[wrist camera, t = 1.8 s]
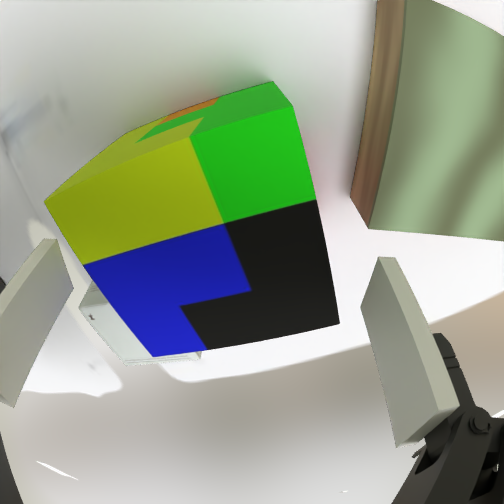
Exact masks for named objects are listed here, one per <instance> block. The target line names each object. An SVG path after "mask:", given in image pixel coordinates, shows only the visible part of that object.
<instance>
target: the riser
mask: <svg viewBox="0 0 504 504" xmlns="http://www.w3.org/2000/svg"><path fill="white" fill-rule="evenodd" d="M350 198H351V200H352V201H353V203H354V205H355V206H356V208H357V210H358V212H359V213H360V215H361V217H362V219H363V220H364V222H365V224H366V226H367V228H368V229H375V230H388V231H400V232H413V233H424V234H435V235H446V236H457V237H467V238H477V239H486V240H496V241H504V36H502V35H501V34H499V33H497V32H496V31H494V30H492V29H490V28H489V27H487V26H485V25H483V24H481V23H479V22H477V21H476V20H474V19H472V18H470V17H468V16H466V15H464V14H462V13H460V12H457V11H455V10H453V9H451V8H449V7H446V6H444V5H442V4H440V3H437V2H435V1H432V0H378V1H377V13H376V26H375V38H374V48H373V58H372V66H371V75H370V83H369V90H368V97H367V104H366V111H365V118H364V124H363V130H362V136H361V142H360V148H359V153H358V159H357V164H356V169H355V175H354V180H353V185H352V189H351V194H350Z"/></svg>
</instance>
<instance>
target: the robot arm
mask: <svg viewBox="0 0 504 504" xmlns="http://www.w3.org/2000/svg"><path fill="white" fill-rule="evenodd" d="M73 289H74V288H73V285H72V282H71V280H70V277H69V274H68V271H67V268H66V265H65V263H64V260H63V257H62V254H61V251H60V247H59V244H58V241H57V239H43V240H42V242H41V243H40V244H39V245H38V246H37V247H36V249H35V250H34V251H33V252H32V253H31V255H30V256H29V257H28V258H27V260H26V261H25V262H24V263H23V265H22V266H21V267H20V268H19V270H18V271H17V272H16V274H15V275H14V276H13V278H12V279H11V280H10V282H9V283H8V284H7V286H5V285H4V283H3V282H2V281H1V279H0V402H2V403H4V404H7V405H9V406H11V407H13V408H14V407H15V404H16V402H17V399H18V397H19V395H20V392H21V390H22V388H23V385H24V383H25V381H26V379H27V376H28V374H29V372H30V370H31V368H32V366H33V364H34V361H35V359H36V357H37V355H38V353H39V351H40V349H41V347H42V345H43V343H44V341H45V339H46V337H47V335H48V334H49V332H50V330H51V328H52V326H53V324H54V322H55V320H56V319H57V317H58V315H59V313H60V311H61V310H62V308H63V306H64V304H65V303H66V301H67V299H68V297H69V296H70V294H71V292H72V291H73ZM360 308H361V311H362V315H363V318H364V321H365V325H366V328H367V331H368V335H369V338H370V342H371V345H372V349H373V352H374V356H375V360H376V363H377V367H378V371H379V375H380V379H381V383H382V387H383V391H384V395H385V399H386V403H387V408H388V412H389V416H390V421H391V425H392V430H393V435H394V439H395V444H396V448H400V447H405V446H410V445H415V444H417V443H418V442H419V441H420V440H422V439H423V438H425V442H426V445H424V446H423V447H422V448H421V449H419V450H418V451H416V452H415V454H414V455H413V456H412V457H413V458H415V457H416V456H418V455H419V457H418V458H417V460H416V462H415V464H414V466H413V468H412V470H411V471H410V473H409V475H408V477H407V479H406V480H405V482H404V484H403V486H402V487H401V489H400V491H399V492H398V494H397V496H396V497H395V499H394V500H393V502H392V504H504V419H503V418H493V417H491V416H490V415H489V413H488V412H487V411H486V410H484V409H483V408H480V407H477V406H476V405H475V403H474V401H473V398H472V396H471V393H470V390H469V387H468V385H467V382H466V380H465V377H464V375H463V372H462V370H461V368H460V365H459V362H458V360H457V358H455V353H454V351H453V349H452V346H451V344H450V343H449V342H448V340H447V339H446V338H445V337H444V336H443V335H442V334H441V333H435V334H432V333H431V330H430V328H429V326H428V323H427V321H426V319H425V317H424V315H423V312H422V310H421V308H420V306H419V304H418V302H417V300H416V298H415V296H414V293H413V291H412V289H411V287H410V285H409V283H408V281H407V279H406V277H405V275H404V274H403V272H402V270H401V268H400V266H399V264H398V262H397V260H396V258H393V257H378V259H377V262H376V265H375V268H374V271H373V274H372V276H371V279H370V282H369V285H368V288H367V290H366V293H365V296H364V298H363V301H362V304H361V306H360ZM497 464H499V465H498V471H497ZM0 504H23V502H22V499H21V497H20V494H19V491H18V489H17V486H16V483H15V481H14V478H13V475H12V472H11V469H10V465H9V462H8V459H7V456H6V452H5V449H4V445H3V441H2V437H1V434H0Z"/></svg>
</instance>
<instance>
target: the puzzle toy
mask: <svg viewBox="0 0 504 504" xmlns="http://www.w3.org/2000/svg"><path fill="white" fill-rule="evenodd" d="M44 203H45V205H46V207H47V209H48V210H49V212H50V214H51V215H52V217H53V219H54V221H55V222H56V224H57V226H58V227H59V229H60V231H61V232H62V234H63V236H64V237H65V239H66V240H67V242H68V244H69V245H70V247H71V248H72V250H73V251H74V253H75V254H76V256H77V258H78V259H79V261H80V262H81V264H82V265H83V267H84V268H85V269H86V271H87V272H88V274H89V275H90V277H91V278H92V280H93V281H94V282H95V284H96V285H97V287H98V288H99V290H100V291H101V292H102V294H103V295H104V296H105V298H106V299H107V300H108V302H109V303H110V305H111V306H112V307H113V309H114V310H115V311H116V312H117V314H118V315H119V316H120V318H121V319H122V320H123V321H124V323H125V324H126V325H127V327H128V328H129V329H130V330H131V332H132V333H133V334H134V335H135V336H136V338H137V339H138V340H139V341H140V343H141V344H142V345H143V346H144V347H145V349H146V350H147V351H148V352H149V353H150V354H151V356H152V357H160V356H169V355H176V354H184V353H191V352H198V351H205V350H211V349H218V348H224V347H230V346H236V345H242V344H247V343H253V342H258V341H263V340H269V339H274V338H279V337H284V336H289V335H293V334H298V333H303V332H307V331H312V330H316V329H320V328H325V327H329V326H333V325H337V324H340V321H339V315H338V308H337V302H336V296H335V291H334V285H333V279H332V274H331V268H330V263H329V258H328V252H327V247H326V242H325V237H324V232H323V228H322V223H321V218H320V214H319V209H318V204H317V200H316V196H315V191H314V187H313V183H312V178H311V174H310V170H309V166H308V162H307V158H306V154H305V150H304V146H303V142H302V138H301V135H300V131H299V127H298V123H297V120H296V116H295V113H294V109H293V106H292V104H291V103H290V102H289V101H288V99H287V98H286V97H285V96H284V94H283V93H282V92H281V91H280V89H279V88H278V87H277V86H276V85H275V83H274V82H273V81H272V82H268V83H265V84H261V85H257V86H254V87H250V88H247V89H243V90H240V91H237V92H233V93H230V94H227V95H224V96H221V97H218V98H215V99H212V100H209V101H206V102H203V103H200V104H197V105H194V106H192V107H189V108H186V109H184V110H181V111H178V112H176V113H173V114H170V115H168V116H165V117H163V118H160V119H158V120H156V121H153V122H151V123H148V124H146V125H144V126H141V127H139V128H137V129H135V130H132V131H130V132H128V133H126V134H124V135H123V136H122V137H120V138H119V139H118V140H116V141H115V142H113V143H112V144H111V145H110V146H108V147H107V148H106V149H104V150H103V151H102V152H100V153H99V154H98V155H97V156H95V157H94V158H93V159H92V160H90V161H89V162H88V163H87V164H86V165H84V166H83V167H82V168H81V169H80V170H78V171H77V172H76V173H75V174H74V175H72V176H71V177H70V178H69V179H68V180H67V181H66V182H64V183H63V184H62V185H61V186H60V187H59V188H58V189H57V190H55V191H54V192H53V193H52V194H51V195H50V196H49V197H48V198H47V199H46V200H45V201H44Z"/></svg>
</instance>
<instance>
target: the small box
mask: <svg viewBox="0 0 504 504" xmlns="http://www.w3.org/2000/svg"><path fill="white" fill-rule="evenodd" d="M79 309H80V311H81V313H82V314H83V315H84V317H85V318H86V320H87V321H88V322H89V323H90V325H91V326H92V327H93V328H94V330H95V331H96V332H97V333H98V334H99V336H101V338H102V339H103V340H104V341H105V343H106V344H107V345H108V346H109V347H110V348H111V350H112V351H113V352H114V353H115V354H116V355H117V356H118V358H119V359H120V360H121V361H122V362H123V363H124V364H125V365H126V366H128V365H141V364H153V363H166V362H177V361H188V360H199V359H200V358H201V352H202V351H198V352H191V353H184V354H176V355H169V356H160V357H152V356H151V354H150V353H149V352H148V351H147V350H146V349H145V347H144V346H143V345H142V344H141V343H140V341H139V340H138V339H137V338H136V336H135V335H134V334H133V333H132V332H131V330H130V329H129V328H128V327H127V325H126V324H125V323H124V321H123V320H122V319H121V318H120V316H119V315H118V314H117V312H116V311H115V310H114V309H113V307H112V306H111V305H110V303H109V302H108V300H107V299H106V298H105V296H104V295H103V294H102V292H101V291H100V290H99V288H98V287H97V285H96V284H95V282H94V281H92V283H91V284H90V286H89V288H88V290H87V292H86V294H85V296H84V298H83V300H82V302H81V303H80V306H79Z"/></svg>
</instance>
